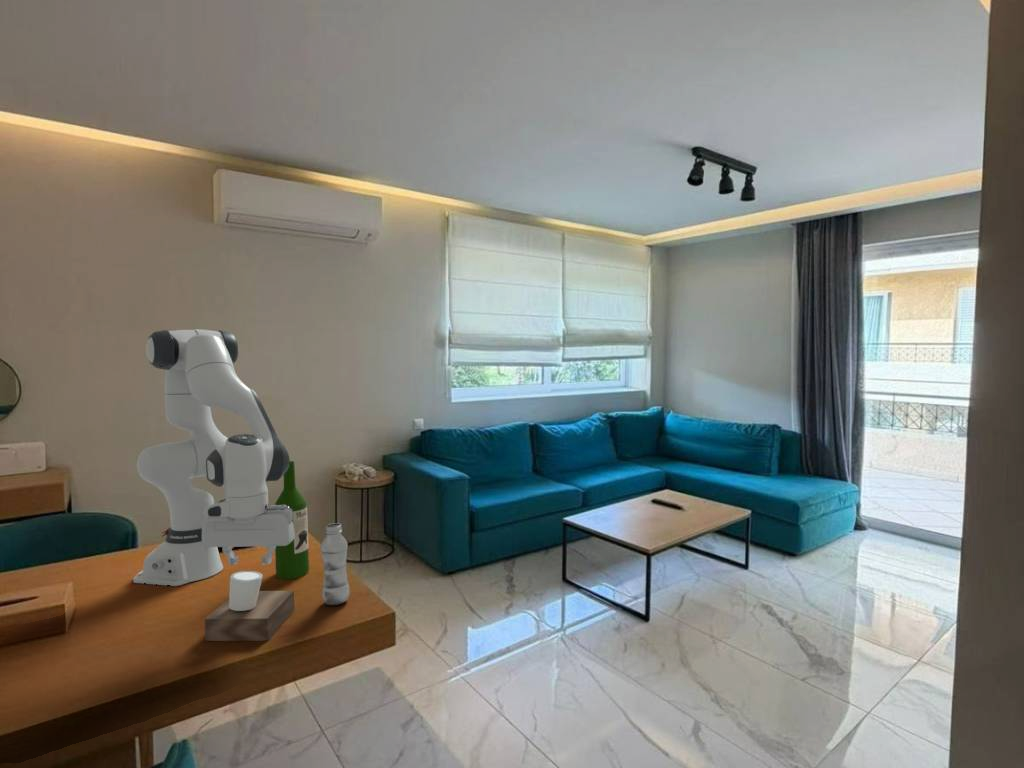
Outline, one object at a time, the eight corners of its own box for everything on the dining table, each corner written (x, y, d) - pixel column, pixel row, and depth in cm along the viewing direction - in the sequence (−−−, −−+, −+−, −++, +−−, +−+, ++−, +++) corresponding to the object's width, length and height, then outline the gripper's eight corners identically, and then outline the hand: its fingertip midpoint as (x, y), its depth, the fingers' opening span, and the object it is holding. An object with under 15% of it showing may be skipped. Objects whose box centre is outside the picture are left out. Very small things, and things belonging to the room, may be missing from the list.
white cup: (255, 598, 128) (259, 569, 129) (261, 609, 123) (265, 579, 123) (223, 601, 124) (227, 571, 125) (228, 613, 119) (232, 582, 119)
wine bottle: (296, 580, 150) (292, 465, 149) (269, 577, 153) (264, 464, 151) (315, 568, 159) (311, 459, 157) (289, 565, 161) (285, 458, 159)
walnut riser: (205, 641, 119) (204, 619, 119) (238, 611, 133) (237, 591, 133) (268, 640, 119) (267, 618, 118) (294, 610, 133) (293, 590, 132)
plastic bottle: (354, 601, 137) (352, 524, 136) (330, 611, 132) (327, 531, 131) (341, 594, 141) (339, 519, 140) (317, 603, 136) (314, 526, 135)
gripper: (297, 500, 127) (300, 558, 128) (212, 502, 127) (214, 559, 128) (286, 508, 121) (288, 568, 122) (196, 509, 121) (199, 570, 122)
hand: (250, 564), depth 125 cm, fingers open, 6 cm apart
